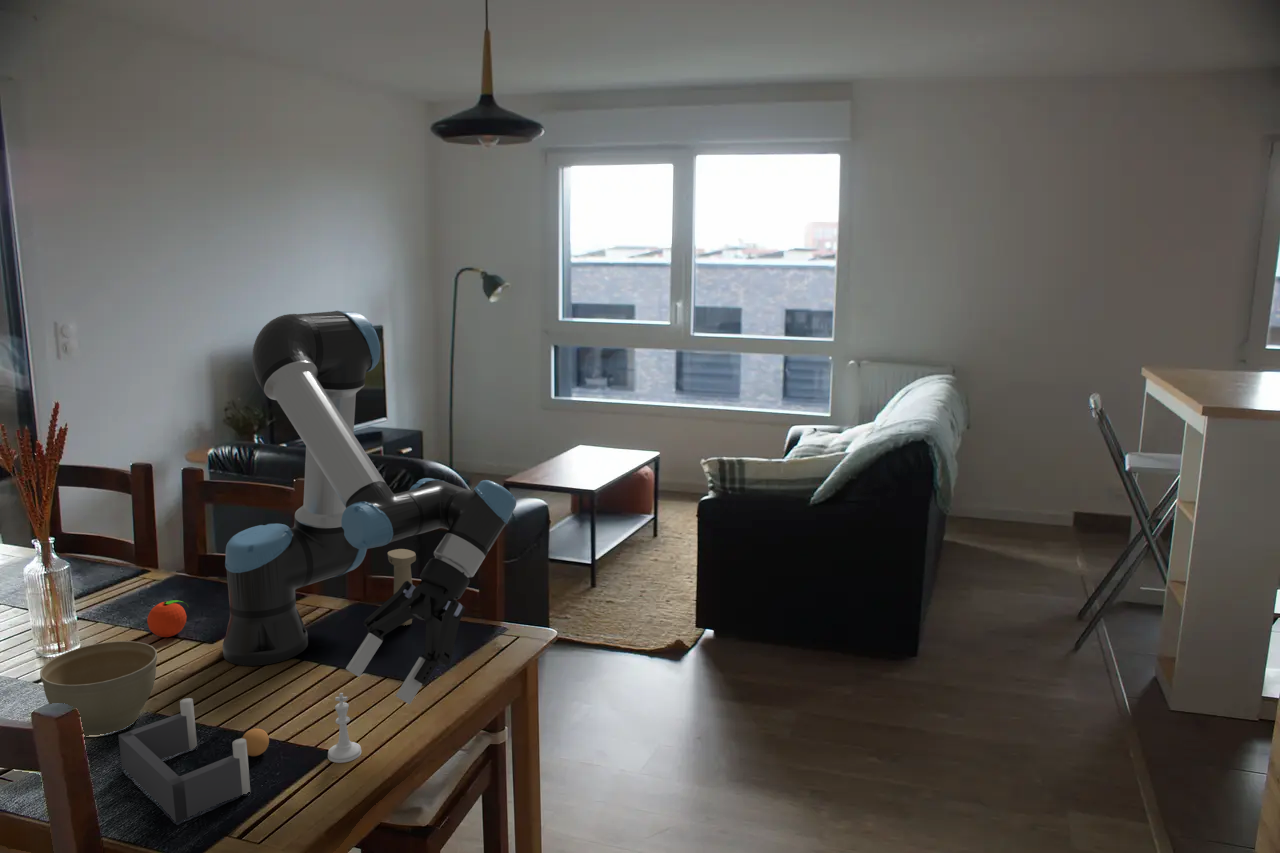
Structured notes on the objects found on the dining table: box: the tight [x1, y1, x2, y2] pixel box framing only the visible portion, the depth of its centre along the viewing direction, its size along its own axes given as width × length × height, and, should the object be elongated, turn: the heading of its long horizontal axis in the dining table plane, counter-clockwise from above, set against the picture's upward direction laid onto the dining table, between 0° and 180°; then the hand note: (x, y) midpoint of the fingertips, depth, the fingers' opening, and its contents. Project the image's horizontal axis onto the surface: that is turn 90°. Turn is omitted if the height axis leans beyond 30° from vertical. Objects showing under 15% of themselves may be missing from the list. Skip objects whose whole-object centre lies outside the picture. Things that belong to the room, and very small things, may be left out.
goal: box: [118, 697, 251, 822], centre depth 133 cm, size 10×19×8 cm, turn 48°
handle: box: [387, 548, 417, 627], centre depth 189 cm, size 5×6×15 cm
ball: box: [241, 727, 270, 757], centre depth 140 cm, size 4×4×4 cm
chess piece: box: [327, 692, 363, 764], centre depth 140 cm, size 5×5×10 cm
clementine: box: [146, 599, 189, 638], centre depth 183 cm, size 8×7×7 cm
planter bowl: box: [39, 640, 158, 738], centre depth 148 cm, size 16×16×11 cm
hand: (376, 686), depth 142 cm, fingers open, 13 cm apart
